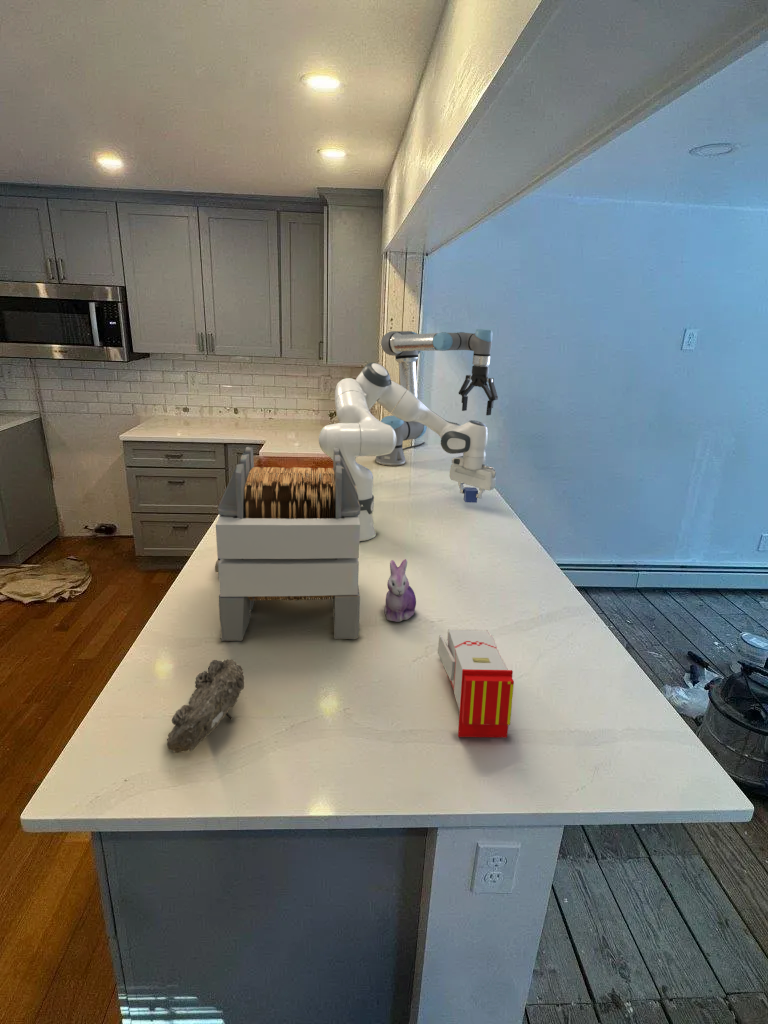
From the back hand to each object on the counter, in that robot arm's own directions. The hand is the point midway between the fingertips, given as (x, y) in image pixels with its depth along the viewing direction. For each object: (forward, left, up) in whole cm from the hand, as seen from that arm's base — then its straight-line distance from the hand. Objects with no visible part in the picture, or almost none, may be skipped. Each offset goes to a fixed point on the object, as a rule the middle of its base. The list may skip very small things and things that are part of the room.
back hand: (476, 412), depth 261 cm
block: (+45, +1, -28) cm, 53 cm away
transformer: (+139, -41, -31) cm, 149 cm away
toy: (+164, +6, -31) cm, 167 cm away
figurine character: (+123, -65, -31) cm, 143 cm away
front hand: (+45, +1, -26) cm, 52 cm away
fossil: (+183, -42, -31) cm, 191 cm away
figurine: (+136, -13, -31) cm, 140 cm away
